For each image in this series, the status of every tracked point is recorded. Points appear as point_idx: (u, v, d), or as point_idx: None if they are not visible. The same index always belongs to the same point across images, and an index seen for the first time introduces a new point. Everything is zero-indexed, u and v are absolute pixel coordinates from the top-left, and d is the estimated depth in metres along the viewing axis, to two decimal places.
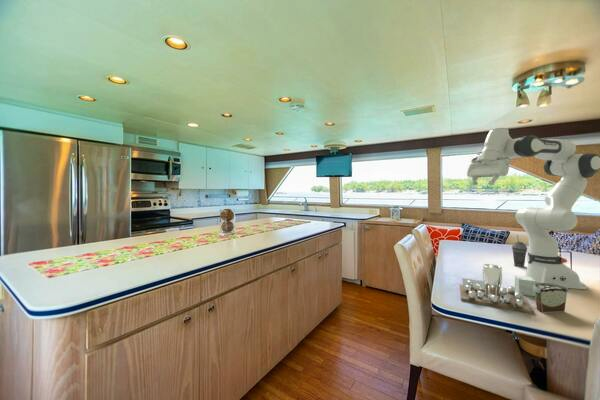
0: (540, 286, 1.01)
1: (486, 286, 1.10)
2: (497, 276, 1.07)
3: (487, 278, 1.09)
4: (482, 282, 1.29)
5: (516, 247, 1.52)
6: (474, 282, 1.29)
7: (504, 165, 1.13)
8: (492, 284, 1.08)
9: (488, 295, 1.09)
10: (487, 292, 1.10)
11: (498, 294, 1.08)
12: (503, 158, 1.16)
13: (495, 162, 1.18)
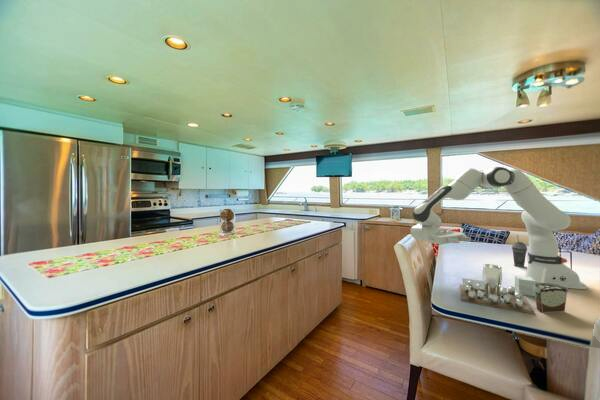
0: (540, 286, 1.01)
1: (486, 286, 1.10)
2: (497, 276, 1.07)
3: (487, 278, 1.09)
4: (482, 282, 1.29)
5: (516, 247, 1.52)
6: (474, 282, 1.29)
7: (434, 241, 1.24)
8: (492, 284, 1.08)
9: (488, 295, 1.09)
10: (487, 292, 1.10)
11: (498, 294, 1.08)
12: None
13: None
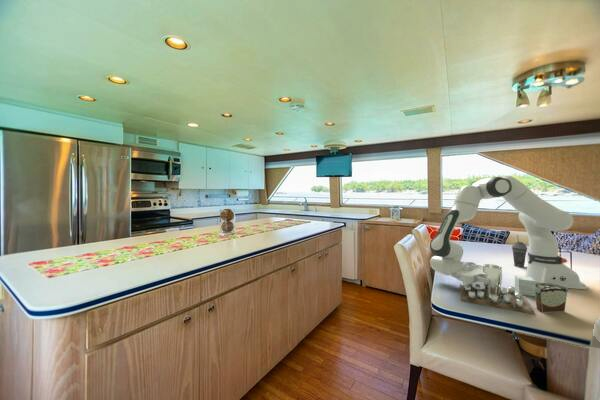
0: (540, 286, 1.01)
1: (486, 286, 1.10)
2: (497, 276, 1.07)
3: (487, 278, 1.09)
4: (482, 282, 1.29)
5: (516, 247, 1.52)
6: None
7: (460, 279, 1.13)
8: (492, 284, 1.08)
9: (488, 295, 1.09)
10: (487, 292, 1.10)
11: (498, 294, 1.08)
12: None
13: None
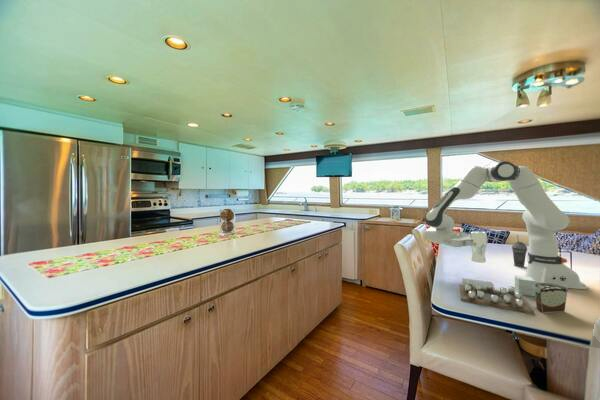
0: (540, 286, 1.01)
1: (473, 250, 1.25)
2: (482, 239, 1.22)
3: None
4: (482, 282, 1.29)
5: (516, 247, 1.52)
6: (474, 282, 1.29)
7: (451, 244, 1.29)
8: (478, 247, 1.23)
9: (475, 257, 1.25)
10: (474, 255, 1.25)
11: (483, 256, 1.23)
12: None
13: None
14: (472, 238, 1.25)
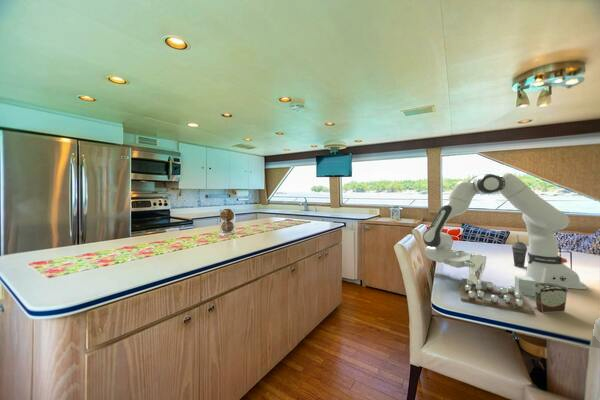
0: (540, 286, 1.01)
1: (470, 271, 1.26)
2: (481, 262, 1.23)
3: None
4: (482, 282, 1.29)
5: (516, 247, 1.52)
6: None
7: (450, 264, 1.30)
8: (476, 269, 1.24)
9: (471, 279, 1.25)
10: (470, 277, 1.26)
11: (479, 279, 1.24)
12: None
13: None
14: (471, 259, 1.26)
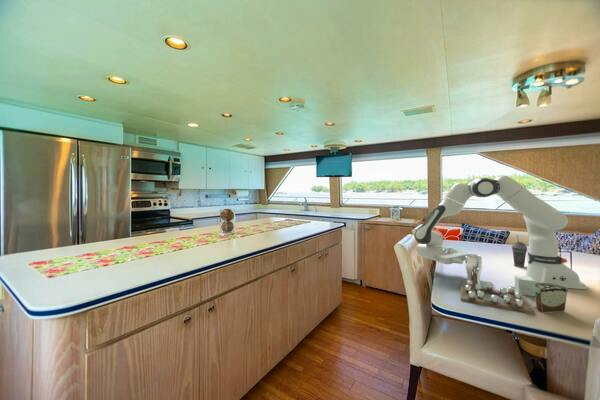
0: (540, 286, 1.01)
1: (468, 273, 1.25)
2: (477, 264, 1.21)
3: (468, 267, 1.24)
4: (482, 282, 1.29)
5: (516, 247, 1.52)
6: None
7: (439, 261, 1.35)
8: (473, 272, 1.23)
9: None
10: (469, 279, 1.25)
11: (478, 280, 1.23)
12: None
13: None
14: (467, 262, 1.24)
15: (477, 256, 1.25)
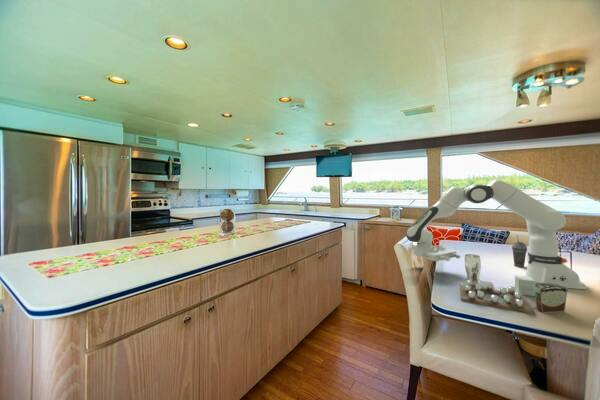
0: (540, 286, 1.01)
1: (467, 273, 1.26)
2: (476, 264, 1.23)
3: (468, 266, 1.25)
4: (482, 282, 1.29)
5: (516, 247, 1.52)
6: None
7: (428, 258, 1.41)
8: (472, 271, 1.23)
9: None
10: (468, 279, 1.26)
11: (478, 280, 1.24)
12: None
13: None
14: (466, 262, 1.25)
15: (476, 256, 1.27)
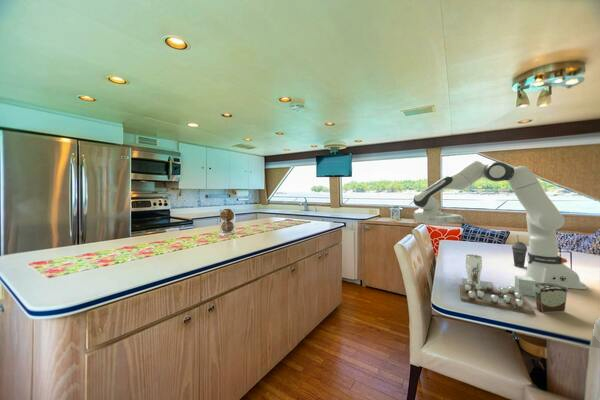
0: (540, 286, 1.01)
1: (468, 273, 1.26)
2: (477, 264, 1.22)
3: (469, 266, 1.25)
4: (482, 282, 1.29)
5: (516, 247, 1.52)
6: None
7: (435, 221, 1.44)
8: (473, 271, 1.23)
9: None
10: (469, 279, 1.25)
11: (478, 280, 1.24)
12: (431, 219, 1.49)
13: None
14: (467, 262, 1.25)
15: (477, 256, 1.27)
